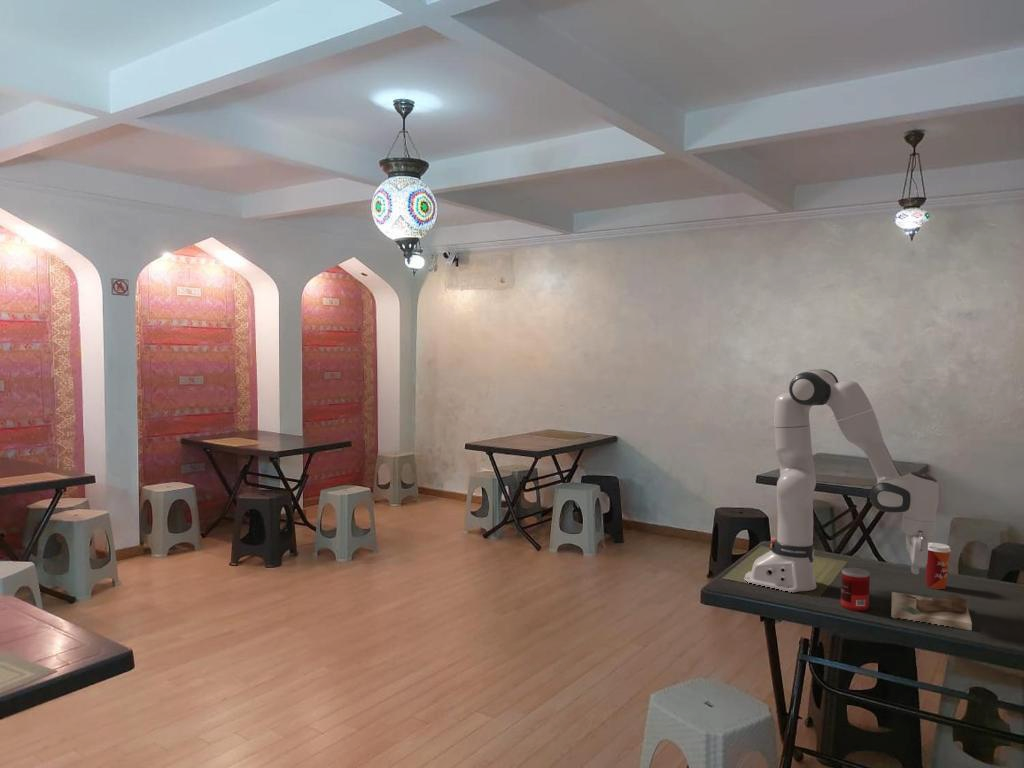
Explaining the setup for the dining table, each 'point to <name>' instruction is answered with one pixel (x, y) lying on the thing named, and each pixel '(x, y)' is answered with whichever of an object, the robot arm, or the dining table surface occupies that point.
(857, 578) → the canned food
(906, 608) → the cream flat square slab
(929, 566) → the paper cup
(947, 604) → the wooden spoon
